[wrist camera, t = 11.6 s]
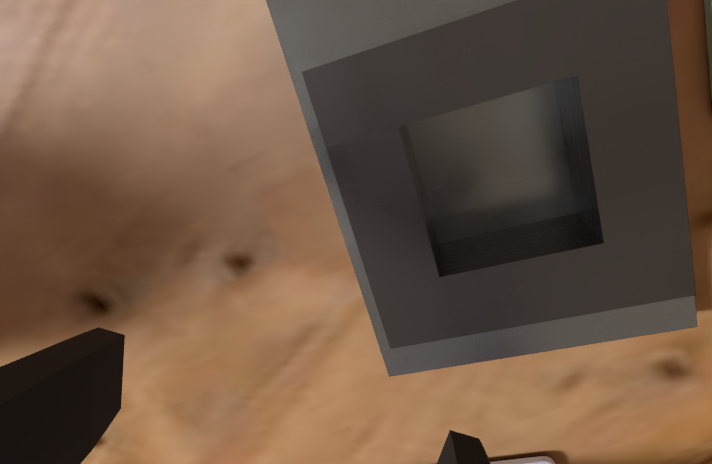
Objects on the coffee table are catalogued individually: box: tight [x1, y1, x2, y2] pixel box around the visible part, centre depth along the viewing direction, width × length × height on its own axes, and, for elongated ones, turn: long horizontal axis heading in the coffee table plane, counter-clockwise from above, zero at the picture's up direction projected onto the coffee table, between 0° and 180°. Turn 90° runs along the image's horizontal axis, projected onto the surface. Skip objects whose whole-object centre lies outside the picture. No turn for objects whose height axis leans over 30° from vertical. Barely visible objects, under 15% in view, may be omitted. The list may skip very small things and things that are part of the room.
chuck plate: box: [266, 0, 698, 377], centre depth 16 cm, size 16×12×4 cm
